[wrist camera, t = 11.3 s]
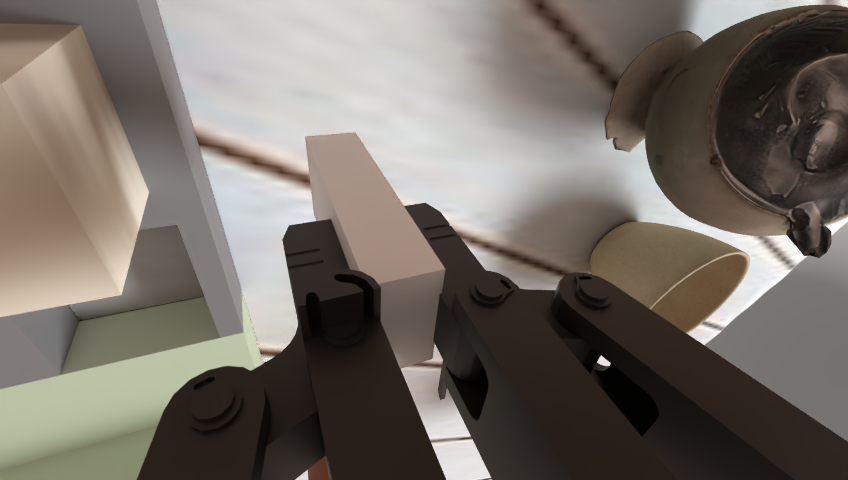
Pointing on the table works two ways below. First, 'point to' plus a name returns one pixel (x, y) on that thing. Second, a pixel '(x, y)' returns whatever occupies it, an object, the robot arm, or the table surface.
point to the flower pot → (670, 270)
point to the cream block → (61, 174)
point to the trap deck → (136, 330)
